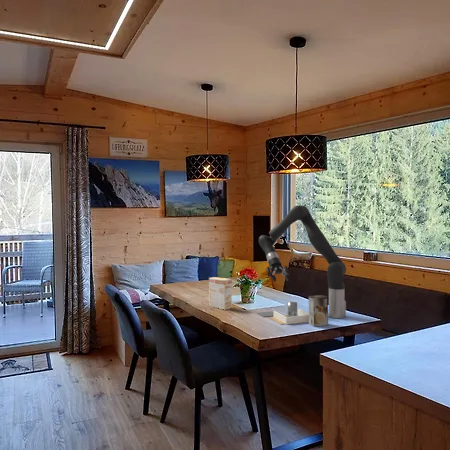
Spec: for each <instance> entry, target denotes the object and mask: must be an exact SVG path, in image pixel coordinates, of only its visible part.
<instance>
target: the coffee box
mask: <svg viewBox="0 0 450 450" xmlns="http://www.w3.org/2000/svg"><path fill="white" fill-rule="evenodd" d="M308 313H309V322H308V325H310V326H312V327H323V326H329V296H326V295H322V294H319V295H308Z"/></svg>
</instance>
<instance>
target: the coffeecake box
mask: <svg viewBox="0 0 450 450" xmlns="http://www.w3.org/2000/svg"><path fill="white" fill-rule="evenodd" d="M232 285H233V284H232V278H225V277H219V276H213V277H208V294H209V295H208V296H209V297H208V302H209V303H208V306H210V308H214V307H215V308H214V309H218V308H219V310H223V309H224V310H223V311H225V310H231V309H232V306H233V305H232V302H233V301H232V293H233V292H232V290H233V289H232ZM230 308H231V309H230Z"/></svg>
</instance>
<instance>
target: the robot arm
mask: <svg viewBox="0 0 450 450" xmlns="http://www.w3.org/2000/svg"><path fill="white" fill-rule="evenodd" d="M297 221H300V222H301V223H302V225H303V226H304V228H305V229H306V233H307V237H308V239H309V242H310V244H311V245H312V247H313V248H314V249H315V250H316V251H317V252H318V254H320V255H321V256H322V257H323V258H324V259H325V260H326V262H327V263H328V267H327V270H326V271H327V284H328V318H333V319H344V318H346V317H347V301H346V300H345V287H346V286H345V283H344V281H343V280H344V279H343V276H344V275H346V272H347V267H346V264H345V263H344V262H343V261H342V260H341V258H340V257H339V256H338V255H337V253H336V252H335V250H334V248H333V247H332V245H331V244H330V242H329V241H328V239H327V237H326V236H325V235H324V233H323V231H322V230H321V229H320V227H319V225H317V223H316V221H315V220H314V218H313V216H312V214H311V212H310V210H309V209H308V207H306V205H295V206H293V207H292V208H291V209H290V210H289V211H288V213H287V214H286V215H285V216H284V218H283V219H282V220H281V221H280V222H279V223H277V224H276V225H275V226H274V227H272V228H271V230H270V231H269V232H268V234H269V235H266V234H265V235H264V234H262V235H260V236H259V237H258V243H259V247H261V249H262V251H263V252H264V253H265V256H266V260H267V263H268V265H269V266H267V267H266V273H267V276H268V278H271V280H272V281H273V282H274V283H276V282H277V277H276V275H281V276H284V278H285V280H286V282H289V280H290V277H289V276H290V274H291V272H290V270H289V268H288V266H286V265H285V266H282V262H281V259H280V258H279V255H278V253H277V251H276V248H275V247H274V245H275V243H276V241H278V239H279V238H280V237H281V236H282V235H284V233H285V232H286V231H287V230H288V229H289V227H290V226H292V224H294V223H296V222H297Z"/></svg>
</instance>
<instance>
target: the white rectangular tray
mask: <svg viewBox="0 0 450 450" xmlns="http://www.w3.org/2000/svg"><path fill="white" fill-rule="evenodd" d="M273 313H274V316H272V317H268V319H270V320H272V321H274V322H276V323H278V324H280V325H293V324H300V323H302V324H303V323H309V311H308V312H307V311H305V310H303V309H301V308H297V316H291V317H288V314H281V313H279V312H277V311H275V310H273Z"/></svg>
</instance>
